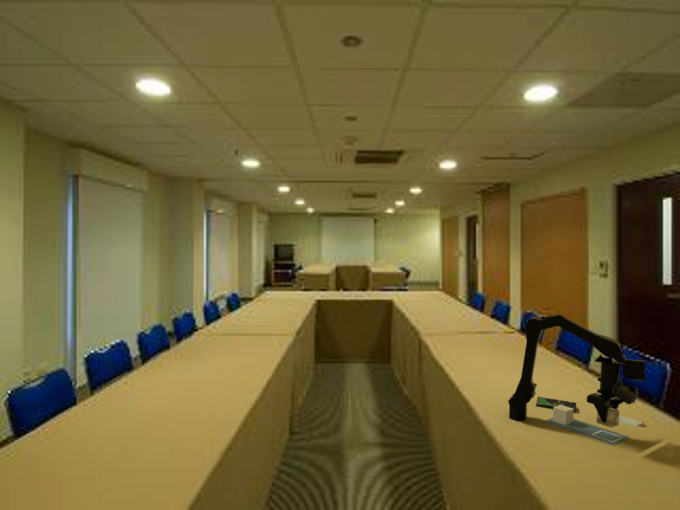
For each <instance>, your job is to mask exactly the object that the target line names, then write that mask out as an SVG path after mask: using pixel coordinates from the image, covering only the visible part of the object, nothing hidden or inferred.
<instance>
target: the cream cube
mask: <svg viewBox="0 0 680 510" xmlns="http://www.w3.org/2000/svg"><path fill="white" fill-rule="evenodd" d="M552 410H553V413H552V418H553V421H556V422H559V423H562V424H565V425H567V424H569V423H572V422H573V419H574V409H573V408H569V407H566V406H563V405H559V406H556V407H553V409H552Z"/></svg>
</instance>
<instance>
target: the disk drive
mask: <svg viewBox="0 0 680 510" xmlns="http://www.w3.org/2000/svg"><path fill="white" fill-rule="evenodd" d="M559 405H563V406H566V407H569V408H573V409H574V413H575V414H577V402H575V401H567V400H563V399H562V400H561V399H555V398H549V397H541V396H537V399H536V403H535V407H539V408H544V409H550V410H553V407H556V406H559ZM574 413H573V414H574Z"/></svg>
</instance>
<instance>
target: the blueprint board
mask: <svg viewBox="0 0 680 510" xmlns="http://www.w3.org/2000/svg"><path fill="white" fill-rule="evenodd" d="M544 422H546V423H549V424H551V425H554V426H556V427H560V428H562V429H566V430H569V431H571V432H574V433H577V434H580V435H583V436H585V437H588V438H590V439H594V440H597V441H599V442H603V443H606V444H608V445H611V446H613V447H614V446H616V445H620V444H621V443H623V442H625V441H627V440H629V439H631V438H632V437H630V436H628V435H624V434H621V433H618V432H615V431H613V430H608V429H606V428H603V427H600V426H596V425H594V424H592V423H588V422H585V421H581V420H579V419H576V418H573V422H572V423H569V424H567V425H565V424H562V423H559V422H556V421H553V417H551V418H549V419H545V420H544Z"/></svg>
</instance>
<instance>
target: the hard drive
mask: <svg viewBox="0 0 680 510" xmlns="http://www.w3.org/2000/svg"><path fill="white" fill-rule="evenodd" d="M619 423H622V424H625V425H629V426H633V427H643V426H645V422H642V421H640V420H636V419H633V418H631V417H630V418H629V417H626V416H623V415H620V414H619Z"/></svg>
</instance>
